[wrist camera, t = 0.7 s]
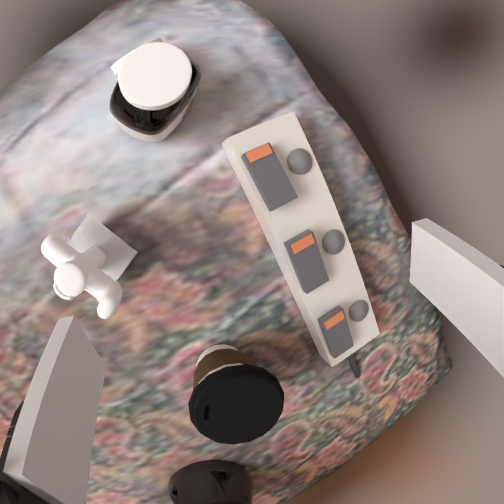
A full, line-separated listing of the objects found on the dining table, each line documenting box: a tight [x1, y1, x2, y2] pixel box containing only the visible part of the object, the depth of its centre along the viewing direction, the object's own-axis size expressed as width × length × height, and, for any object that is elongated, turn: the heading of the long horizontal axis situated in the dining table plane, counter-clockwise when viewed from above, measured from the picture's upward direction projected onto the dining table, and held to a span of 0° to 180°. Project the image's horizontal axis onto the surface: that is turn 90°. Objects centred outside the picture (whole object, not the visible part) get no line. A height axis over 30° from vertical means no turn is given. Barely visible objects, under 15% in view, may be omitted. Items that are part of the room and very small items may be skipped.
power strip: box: [221, 111, 380, 378], centre depth 42 cm, size 42×9×4 cm, turn 26°
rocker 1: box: [283, 229, 329, 294], centre depth 38 cm, size 7×3×1 cm, turn 25°
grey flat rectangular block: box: [241, 142, 298, 212], centre depth 35 cm, size 7×3×1 cm, turn 26°
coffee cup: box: [188, 344, 284, 444], centre depth 37 cm, size 11×11×12 cm
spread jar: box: [110, 38, 201, 143], centre depth 29 cm, size 12×11×12 cm
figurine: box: [41, 213, 137, 319], centre depth 29 cm, size 7×9×15 cm
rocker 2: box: [317, 305, 354, 359], centre depth 41 cm, size 7×3×1 cm, turn 25°
